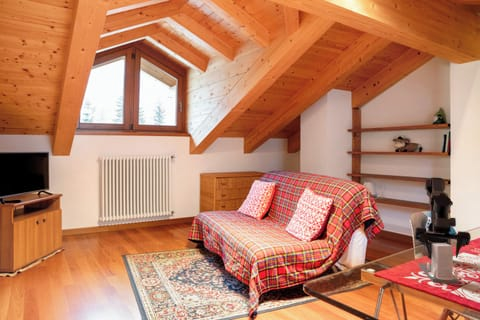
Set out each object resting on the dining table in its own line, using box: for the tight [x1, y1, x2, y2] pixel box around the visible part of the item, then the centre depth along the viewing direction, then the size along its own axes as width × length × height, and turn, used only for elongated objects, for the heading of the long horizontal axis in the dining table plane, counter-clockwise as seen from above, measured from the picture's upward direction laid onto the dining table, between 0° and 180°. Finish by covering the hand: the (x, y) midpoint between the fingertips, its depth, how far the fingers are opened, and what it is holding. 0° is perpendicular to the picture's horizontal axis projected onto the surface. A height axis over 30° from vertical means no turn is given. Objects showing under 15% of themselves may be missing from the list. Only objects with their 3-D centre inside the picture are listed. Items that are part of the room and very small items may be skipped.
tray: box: [417, 261, 460, 285], centre depth 136 cm, size 18×9×5 cm, turn 168°
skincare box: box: [430, 242, 454, 277], centre depth 132 cm, size 6×4×12 cm
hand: (442, 255), depth 130 cm, fingers open, 9 cm apart
